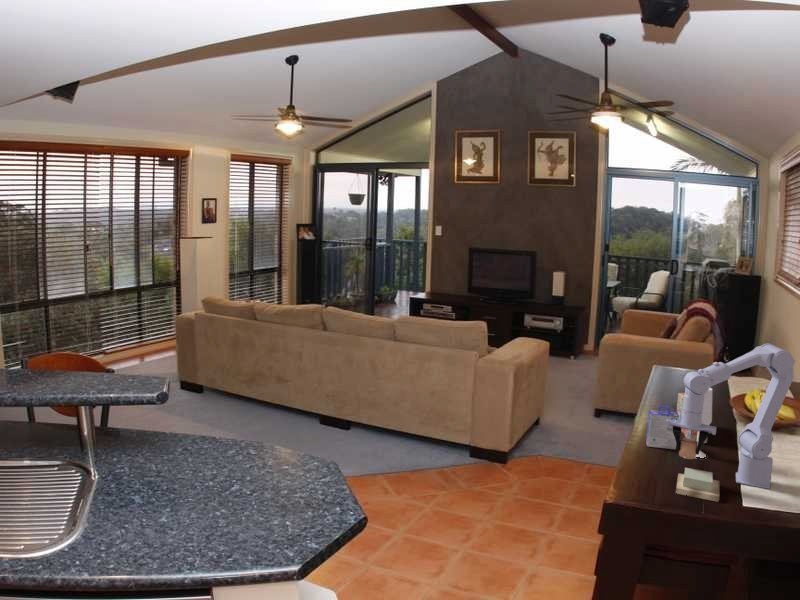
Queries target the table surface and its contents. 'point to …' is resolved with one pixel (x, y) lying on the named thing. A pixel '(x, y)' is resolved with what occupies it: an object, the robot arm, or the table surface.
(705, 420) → the champagne flute
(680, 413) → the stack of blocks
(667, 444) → the ink cartridge box
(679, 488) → the birch slab
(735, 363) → the robot arm
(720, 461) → the table surface
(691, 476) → the green block
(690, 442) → the terracotta cylinder
